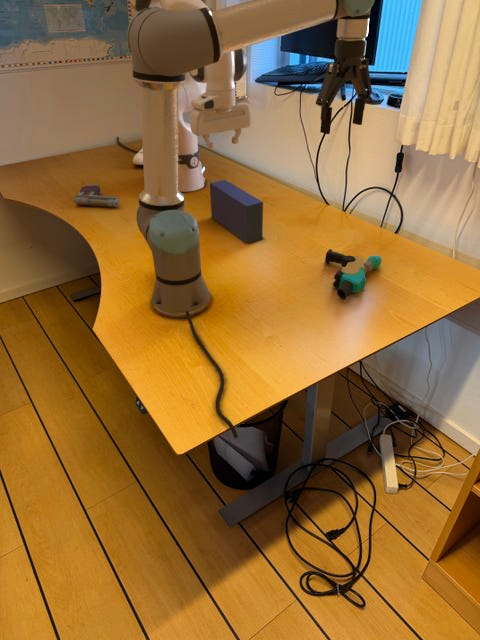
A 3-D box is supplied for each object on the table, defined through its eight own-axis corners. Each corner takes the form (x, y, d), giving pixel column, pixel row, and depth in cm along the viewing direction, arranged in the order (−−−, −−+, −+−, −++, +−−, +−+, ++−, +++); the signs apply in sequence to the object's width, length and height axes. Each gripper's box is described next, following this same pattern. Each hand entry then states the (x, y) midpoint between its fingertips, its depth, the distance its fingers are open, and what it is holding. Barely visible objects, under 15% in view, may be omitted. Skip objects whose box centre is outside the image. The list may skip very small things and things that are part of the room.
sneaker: (127, 168, 213) (123, 140, 206) (154, 149, 235) (151, 124, 228) (148, 170, 211) (144, 142, 204) (174, 151, 233) (171, 125, 226)
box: (262, 238, 155) (263, 201, 148) (246, 243, 153) (246, 206, 145) (226, 214, 172) (224, 179, 164) (211, 217, 169) (209, 183, 162)
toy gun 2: (303, 279, 125) (359, 293, 119) (335, 240, 143) (384, 251, 138) (302, 294, 128) (356, 308, 122) (333, 254, 146) (382, 265, 140)
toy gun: (131, 195, 187) (116, 210, 175) (87, 192, 190) (69, 207, 178) (130, 185, 185) (114, 200, 173) (85, 182, 188) (67, 197, 176)
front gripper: (369, 34, 126) (359, 118, 139) (305, 41, 113) (300, 134, 126) (393, 35, 122) (380, 123, 134) (329, 44, 109) (321, 140, 121)
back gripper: (244, 93, 151) (244, 138, 159) (186, 101, 142) (190, 148, 150) (255, 96, 146) (255, 142, 154) (196, 105, 138) (199, 153, 146)
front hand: (341, 128), depth 130 cm, fingers open, 13 cm apart
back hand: (222, 145), depth 152 cm, fingers open, 8 cm apart
